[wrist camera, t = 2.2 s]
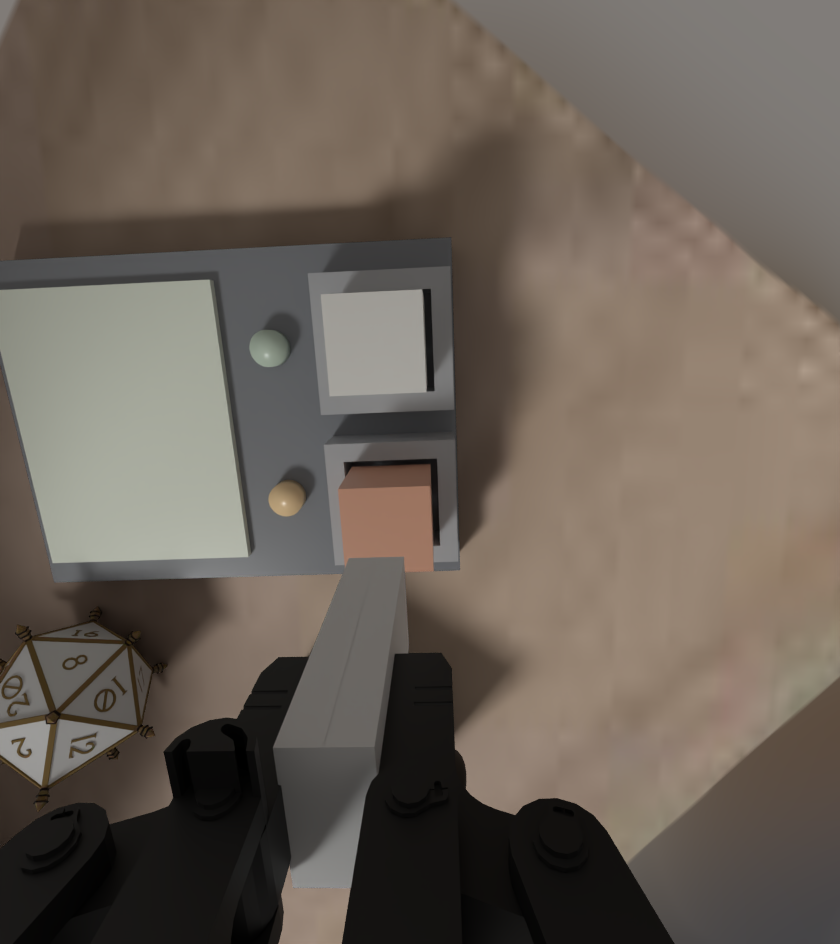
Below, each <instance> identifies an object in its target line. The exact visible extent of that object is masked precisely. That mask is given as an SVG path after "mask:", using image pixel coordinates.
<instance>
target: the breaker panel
mask: <svg viewBox="0 0 840 944" xmlns="http://www.w3.org/2000/svg"><path fill="white" fill-rule="evenodd" d="M418 289H422V291H423V296H424V314H425V339H426V364H427V392H424V393H400V394H376V395H352V396H330V395H329V384H328V372H327V361H326V350H325V338H324V327H323V316H322V305H321V294H336V293H357V292H377V291H398V290H418ZM0 366H1V370H2V374H3V378H4V382H5V386H6V390H7V394H8V398H9V402H10V406H11V410H12V414H13V418H14V422H15V426H16V430H17V434H18V438H19V442H20V446H21V450H22V454H23V458H24V462H25V467H26V471H27V475H28V479H29V483H30V487H31V491H32V495H33V499H34V503H35V507H36V511H37V515H38V519H39V523H40V527H41V531H42V535H43V539H44V543H45V547H46V551H47V555H48V559H49V563H50V567H51V571H52V575H53V579H54V582H85V581H118V580H152V579H185V578H218V577H251V576H284V575H317V574H343V572H344V569H345V564H344V553H343V542H342V530H341V519H340V508H339V496H338V488H339V487H340V485H341V483H342V482H343V480H344V479H345V477H346V475H347V474H348V472H349V471H350V469H351V467H356V466H383V465H410V464H431V489H432V514H433V549H434V571H450V570H460V553H459V515H458V477H457V439H456V400H455V362H454V324H453V286H452V248H451V237H449V238H430V239H411V240H392V241H372V242H353V243H334V244H315V245H296V246H276V247H257V248H238V249H219V250H200V251H180V252H161V253H142V254H123V255H103V256H84V257H65V258H46V259H27V260H7V261H0Z"/></svg>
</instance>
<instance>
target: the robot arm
mask: <svg viewBox="0 0 840 944" xmlns="http://www.w3.org/2000/svg"><path fill="white" fill-rule="evenodd" d="M408 650H409V636H408V619H407V601H406V583H405V566H404V557H370V558H349V559H348V562H347V564H346V567H345V569H344V572H343V574H342V577H341V579H340V582H339V584H338V587H337V589H336V592H335V594H334V597H333V599H332V602H331V604H330V607H329V609H328V612H327V614H326V617H325V619H324V622H323V624H322V627H321V629H320V632H319V634H318V637H317V639H316V642H315V644H314V646H313V649H312V651H311V654H310V656H309V657H278V658H277V659H276V660H275V661H274V662H273V663H272V664H270V665H269V666H268V667H267V668H266V669H265V670H264V671H263V672H261V674H260V676H259V678H258V680H257V682H256V684H255V685H254V687H253V689H252V694H250V695H249V697H248V699H247V701H246V703H245V704H244V709H243V710H241V712H240V714H239V716H238V718H237V719H233V718H222V719H215V720H209V721H207V722H204V723H202V724H199V725H197V726H194V727H192V728H190V729H189V730H187V731H186V732H184V733H183V734H181V735H180V736H178V737H177V738H176V739H175V740H174V741H173V742H172V743H171V744H170V745H169V746H168V747H167V749H166V750H165V751H164V756H165V761H166V765H167V770H168V775H169V779H170V784H171V789H172V793H173V799H172V801H171V803H170V805H169V806H168V807H165V808H163V809H160V810H157V811H155V812H152V813H148V814H145V815H141V816H138V817H134V818H131V819H127V820H124V821H120V822H117V823H113V824H110V825H109V821H108V817H107V814H106V810H105V809H103V808H101V807H100V806H98V805H96V804H95V803H76V804H72V805H68V806H64V807H61V808H58V809H56V810H54V811H52V812H50V813H48V814H46V815H44V816H42V817H40V818H38V819H36V820H35V821H33V822H32V823H31V824H30V825H28V826H27V827H26V828H24V829H23V830H22V831H20V832H19V833H18V834H16V835H15V836H14V837H13V838H12V839H11V840H10V841H9V842H8V843H7V844H5V845H4V846H3V847H2V848H1V849H0V944H278V943H279V939H280V935H281V932H282V925H283V914H284V911H283V904H282V898H281V893H282V889H283V886H284V882H285V879H286V875H287V871H288V868H289V864H290V870H291V877H292V884H293V888H351V890H350V897H349V903H348V909H347V915H346V921H345V928H344V934H343V940H342V944H674V942H673V941H672V939H671V937H670V935H669V934H668V932H667V930H666V929H665V927H664V925H663V924H662V922H661V921H660V919H659V917H658V915H657V914H656V912H655V910H654V909H653V907H652V906H651V904H650V902H649V901H648V899H647V897H646V895H645V894H644V892H643V891H642V889H641V887H640V885H639V884H638V882H637V881H636V879H635V877H634V876H633V874H632V872H631V870H630V869H629V867H628V865H627V864H626V862H625V860H624V859H623V857H622V855H621V854H620V852H619V850H618V849H617V847H616V845H615V844H614V842H613V840H612V839H611V837H610V835H609V834H608V832H607V831H606V830H605V828H604V827H603V826H602V825H601V824H600V822H599V821H598V820H597V819H596V818H595V816H594V815H592V814H591V813H589V812H588V811H586V810H585V809H583V808H582V807H580V806H579V805H577V804H575V803H571V802H568V801H565V800H561V799H558V798H552V799H538V800H536V801H533V802H531V803H529V804H527V805H524V806H523V807H522V808H521V809H520V811H519V812H518V813H517V814H516V815H513V814H509V813H506V812H503V811H500V810H497V809H494V808H492V807H489V806H487V805H485V804H482V803H481V802H480V801H478V800H477V799H475V798H474V797H473V796H471V795H470V794H469V792H468V791H467V790H466V789H465V788H464V787H463V785H462V783H461V781H460V779H459V778H458V776H457V771H456V765H455V742H454V717H453V691H452V668H451V666H450V665H449V663H448V662H447V661H446V659H445V658H444V656H443V655H442V653H408Z"/></svg>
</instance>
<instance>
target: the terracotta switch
mask: <svg viewBox="0 0 840 944" xmlns="http://www.w3.org/2000/svg"><path fill="white" fill-rule="evenodd" d="M338 496H339V508H340V519H341V530H342V542H343V553H344V564H345V567H346V564H347V562H348V559H349V558H370V557H404V566H405V572H422V571H434V549H433V514H432V489H431V464H410V465H383V466H356V467H351V469H350V471H349V472H348V474H347V475H346V477H345V479H344V480H343V482H342V483H341V485H340V487H339V488H338Z"/></svg>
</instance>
